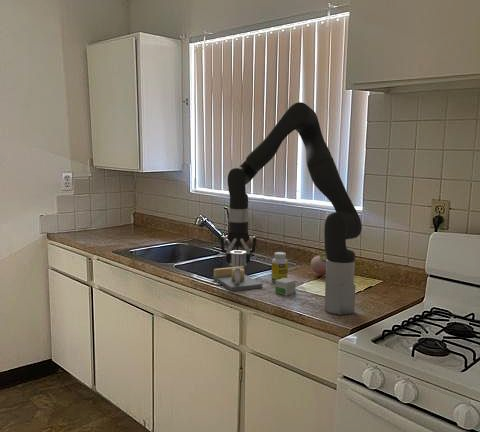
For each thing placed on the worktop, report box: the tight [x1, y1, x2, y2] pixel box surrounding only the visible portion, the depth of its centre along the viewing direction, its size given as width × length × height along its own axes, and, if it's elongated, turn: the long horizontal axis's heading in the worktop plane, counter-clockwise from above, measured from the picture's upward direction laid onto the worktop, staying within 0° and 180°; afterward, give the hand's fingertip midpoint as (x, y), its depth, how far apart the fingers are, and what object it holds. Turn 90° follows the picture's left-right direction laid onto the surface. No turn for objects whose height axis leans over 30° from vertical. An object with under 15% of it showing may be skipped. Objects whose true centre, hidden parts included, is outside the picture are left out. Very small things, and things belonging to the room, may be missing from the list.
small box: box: [274, 277, 297, 296], centre depth 185 cm, size 6×6×5 cm
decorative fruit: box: [310, 253, 327, 277], centre depth 209 cm, size 9×8×10 cm
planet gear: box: [229, 249, 248, 267], centre depth 189 cm, size 6×6×5 cm
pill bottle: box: [271, 251, 289, 283], centre depth 200 cm, size 6×6×12 cm
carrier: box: [213, 266, 263, 292], centre depth 196 cm, size 18×13×8 cm
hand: (238, 262), depth 189 cm, fingers closed on planet gear, 6 cm apart
